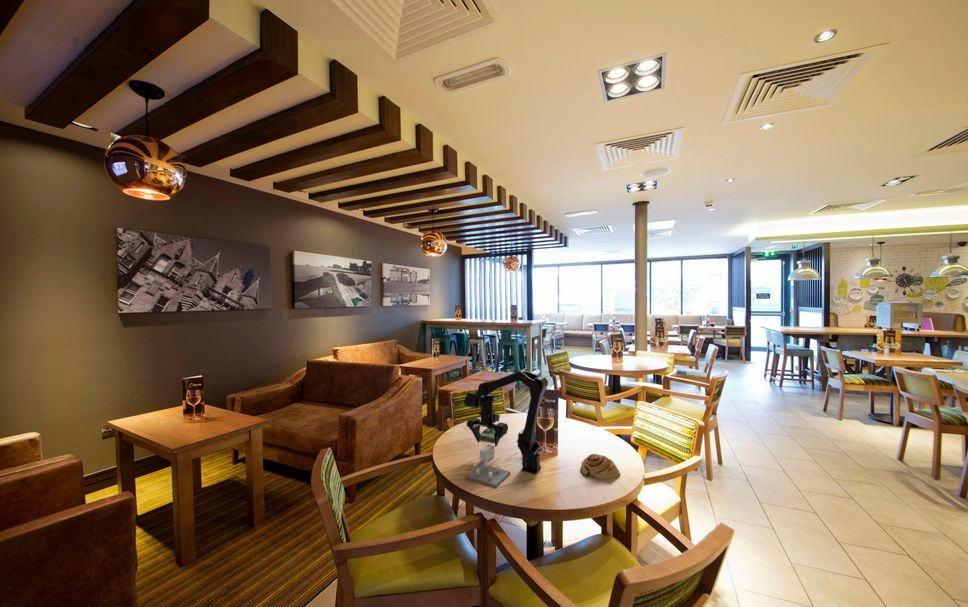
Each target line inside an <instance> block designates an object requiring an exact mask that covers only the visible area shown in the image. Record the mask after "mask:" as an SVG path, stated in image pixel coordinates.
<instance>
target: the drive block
mask: <svg viewBox="0 0 968 607" xmlns="http://www.w3.org/2000/svg"><path fill="white" fill-rule="evenodd" d="M495 457H496V456H495V444H489V443H488V444H487V445H486V446H484V447H483V448H482V449H480V450H479V462H480V463H481V464H485V462H487V463H489V461H491V460H492V459H493V458H495Z"/></svg>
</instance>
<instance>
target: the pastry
mask: <svg viewBox="0 0 968 607" xmlns="http://www.w3.org/2000/svg"><path fill="white" fill-rule="evenodd" d="M580 464H581V466H580V467H579V468H580V469H579V471H580V473H581V475H583V476H584V477H590V478H593V479H595V480H599V479H600V480H599V481H612V480H611V479H613V480H615V478H616V479H618V478H620V477H621V472H620V469H618V467H617V466H616V464H615V462H614V461H613V460H612V459H610V458H609V457H607V456H606V455H601V454H597V453H591V454H590V455H588V456H587V457H585V458H584V459H583V460H582V461H581V463H580ZM619 476H620V477H619ZM617 477H618V478H617Z"/></svg>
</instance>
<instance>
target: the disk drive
mask: <svg viewBox="0 0 968 607" xmlns="http://www.w3.org/2000/svg"><path fill="white" fill-rule="evenodd" d="M494 433H495V431H494V429H493V428H488V427H486V428H485V429H484V430H483V431H481V432H480V440H481V439H482V440H481V441H486V440H487V441H488V442H492V443H493V442H494V443H495V440H494ZM507 433H508V430H507V431H506V432H504V433H503V434H501V436H500V439H501V438H503V437H504V436H505V435H506V434H507ZM503 435H504V436H503ZM487 441H486V442H487Z"/></svg>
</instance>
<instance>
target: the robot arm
mask: <svg viewBox="0 0 968 607" xmlns="http://www.w3.org/2000/svg"><path fill="white" fill-rule="evenodd" d="M518 381H520V382H521V383H522V384H523V385H525V387H528V388H529V396H530V400H529V404H528V410H527V415H526V419H525V423H524V428H523V429H521V430H520V431H519V432H518V434H517V440H516V443H517V448H518V449H519V451H520V453H521V465H522V468H521V471H524V472H528V473H531V474H537V473H538V472H540V470H541V469H542V465H540V464H541V461H540V460H541V458H540V454H539V452H541V448H542V447H541V445H540V444H539V443H538V442H537V437H536V436H537V434H536V428H537V422H538V416H539V413H540V412H539V411H540V407H541V401H542V398H543V396H544V394H545V392H546V390H547V388H548V385H549V380H548V379H547V378H546V377H545V376H543V375H538V374H537V373H533V372H530V371H527V370H525V369H519V370H518V371H516V372H513V373H510V374H508V375H505V376H502V377H499V378H498V379H496V378H495V379H490V380H486V381H483V382H482V383H480V384H479V385H478V386H477V390H476V392H471V391H468V392H466V395H465V397H464V400H463V402H464V403H463V404H464V407H466V408H471V409H479V407H480V412H478V416H480V417H471V418H470V419H468V420H467V421H466V427H467V428H468V429H469V430H470V431H471V433H472V434H473V436H474V438H475V440H476V442H477V443H478V444H479V443H480V442H481V441H480V440H481V439H480V433H481V432H480V431H481V427H484V428H493V429H494V431H495V433H494V440H495V442H494V448H495V447H498V445H499V442H500V439H501V438H500V436H501V434H503V433H504V432H506V431H507V432H508V430H509V426H508V424H507V423H505V422H500V416H501V414H499V413H496V412H495V410H494V402H496V401H497V400H498V397H497V396H496V395H494V394H492V393H494V392H496V391H497V390H499V389H500V388H503V387H505V386H508V385H510V384H513V383H516V382H518ZM534 389H535V390H534ZM491 394H492V395H491ZM497 422H498V423H497ZM496 423H497V424H496Z"/></svg>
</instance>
